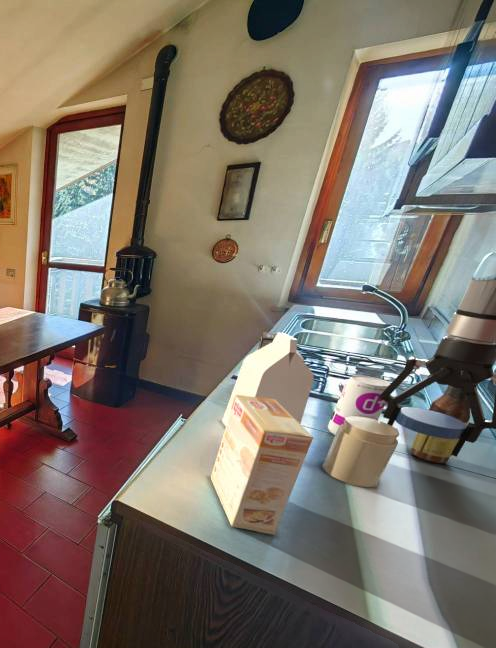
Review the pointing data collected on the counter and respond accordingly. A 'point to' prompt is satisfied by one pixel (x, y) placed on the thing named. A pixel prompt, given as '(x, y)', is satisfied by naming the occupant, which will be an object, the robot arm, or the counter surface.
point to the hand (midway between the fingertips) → (418, 442)
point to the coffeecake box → (258, 462)
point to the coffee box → (266, 339)
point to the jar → (361, 451)
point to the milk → (275, 377)
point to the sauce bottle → (440, 448)
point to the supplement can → (359, 400)
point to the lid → (430, 423)
